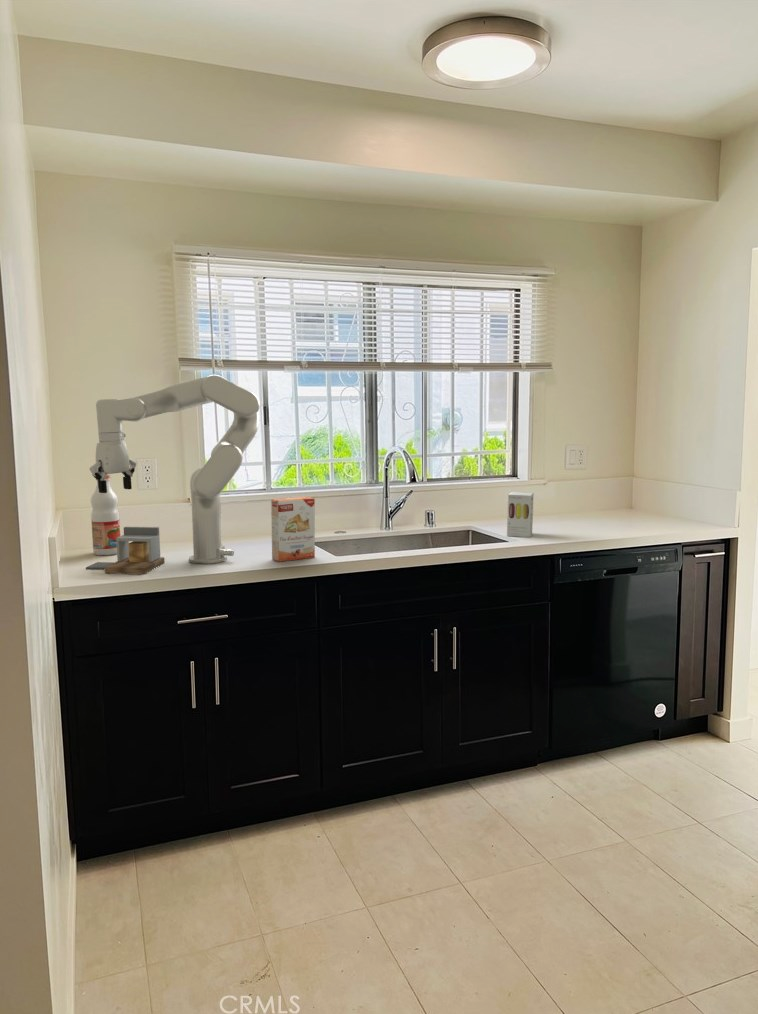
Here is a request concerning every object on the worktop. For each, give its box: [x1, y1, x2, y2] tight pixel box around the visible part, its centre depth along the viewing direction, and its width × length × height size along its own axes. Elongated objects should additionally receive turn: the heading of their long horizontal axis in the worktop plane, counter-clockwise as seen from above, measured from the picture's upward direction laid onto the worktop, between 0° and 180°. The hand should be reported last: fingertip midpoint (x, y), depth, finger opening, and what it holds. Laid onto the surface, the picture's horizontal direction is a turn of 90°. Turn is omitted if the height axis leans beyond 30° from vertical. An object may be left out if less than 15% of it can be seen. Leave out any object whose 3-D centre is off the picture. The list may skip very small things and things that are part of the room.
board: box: [104, 556, 166, 575], centre depth 243 cm, size 13×16×2 cm
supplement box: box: [506, 491, 534, 538], centre depth 299 cm, size 10×9×17 cm
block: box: [128, 541, 149, 562], centre depth 246 cm, size 5×5×8 cm
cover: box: [116, 526, 161, 562], centre depth 245 cm, size 12×7×10 cm, turn 84°
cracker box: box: [270, 496, 316, 563], centre depth 256 cm, size 14×6×21 cm, turn 123°
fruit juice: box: [90, 474, 121, 556], centre depth 265 cm, size 9×9×28 cm
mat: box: [85, 561, 116, 570], centre depth 245 cm, size 8×8×1 cm
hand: (115, 490), depth 242 cm, fingers open, 9 cm apart
